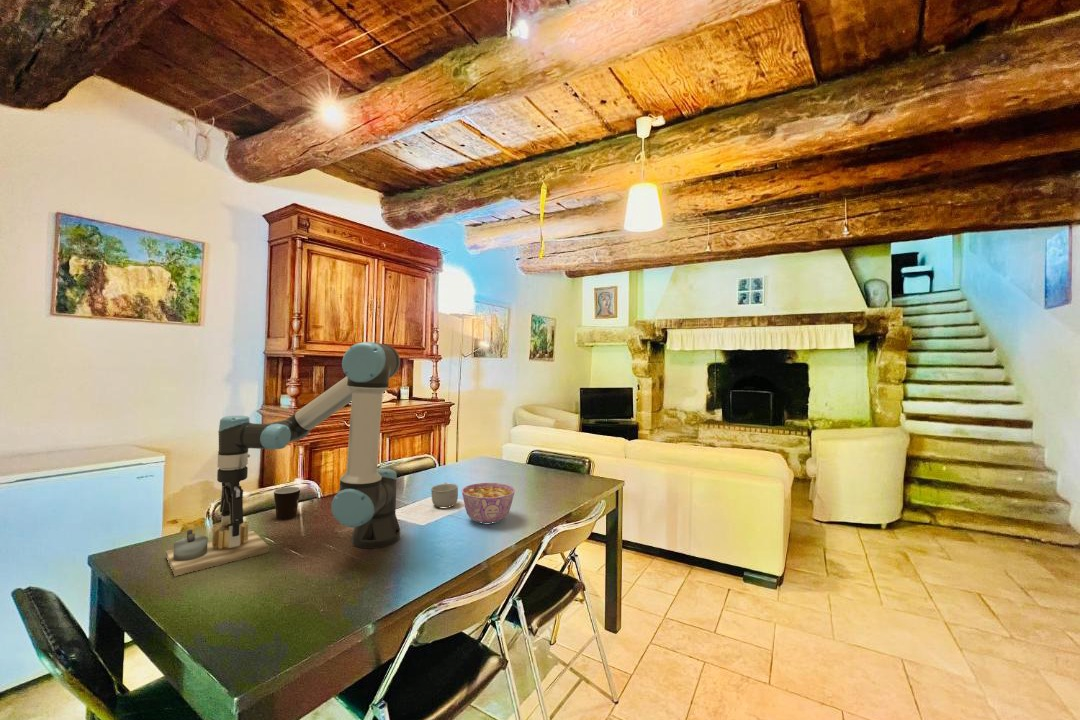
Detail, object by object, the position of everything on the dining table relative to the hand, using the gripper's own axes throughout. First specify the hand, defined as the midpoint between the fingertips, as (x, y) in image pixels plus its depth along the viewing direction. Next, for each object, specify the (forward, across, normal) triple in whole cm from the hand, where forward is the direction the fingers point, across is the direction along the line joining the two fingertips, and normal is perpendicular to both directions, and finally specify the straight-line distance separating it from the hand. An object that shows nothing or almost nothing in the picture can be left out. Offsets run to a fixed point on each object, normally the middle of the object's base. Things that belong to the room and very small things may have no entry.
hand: (230, 541), depth 132 cm
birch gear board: (+3, 0, +3) cm, 4 cm away
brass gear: (0, 0, 0) cm, 0 cm away
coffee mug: (+3, +22, -23) cm, 32 cm away
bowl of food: (+3, -33, -74) cm, 81 cm away
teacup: (+3, -7, -73) cm, 73 cm away
